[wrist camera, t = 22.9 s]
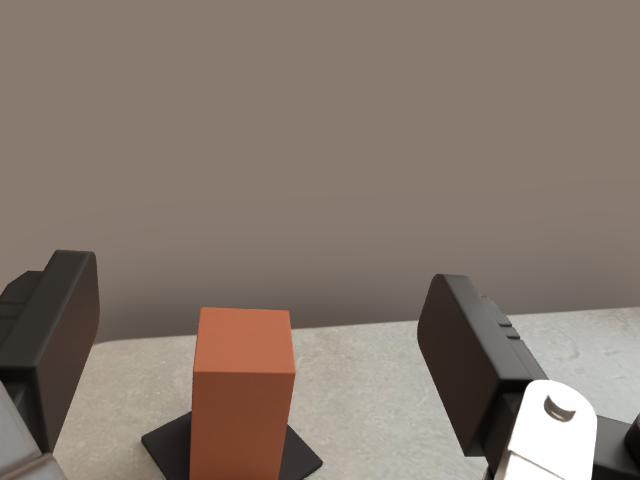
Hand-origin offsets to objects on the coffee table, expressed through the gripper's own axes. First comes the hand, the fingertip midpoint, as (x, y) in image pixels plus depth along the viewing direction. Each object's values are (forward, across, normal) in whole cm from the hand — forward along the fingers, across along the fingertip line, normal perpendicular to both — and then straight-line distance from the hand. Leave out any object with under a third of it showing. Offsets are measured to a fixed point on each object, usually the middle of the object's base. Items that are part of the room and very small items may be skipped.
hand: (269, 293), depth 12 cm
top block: (+11, 0, +20) cm, 23 cm away
